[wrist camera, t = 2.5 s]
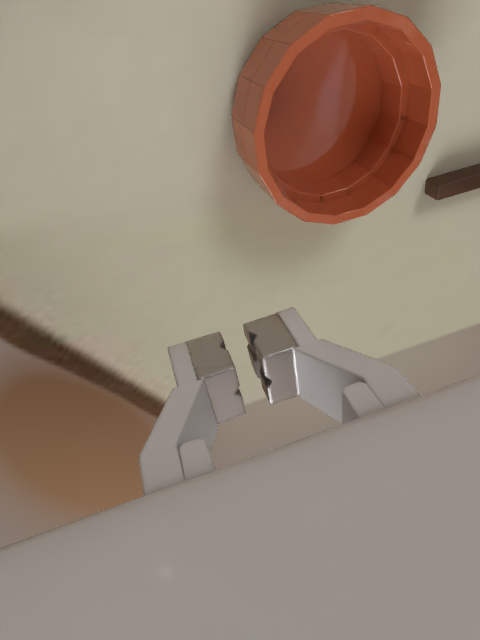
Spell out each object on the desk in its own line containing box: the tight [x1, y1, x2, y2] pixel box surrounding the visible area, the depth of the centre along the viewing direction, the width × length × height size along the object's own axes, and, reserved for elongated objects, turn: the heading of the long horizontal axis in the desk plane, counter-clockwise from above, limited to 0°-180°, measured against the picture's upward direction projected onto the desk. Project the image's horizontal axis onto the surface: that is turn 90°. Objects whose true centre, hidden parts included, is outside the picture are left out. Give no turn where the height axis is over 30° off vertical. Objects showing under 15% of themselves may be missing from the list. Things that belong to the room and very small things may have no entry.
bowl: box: [232, 3, 441, 224], centre depth 27 cm, size 11×11×5 cm
